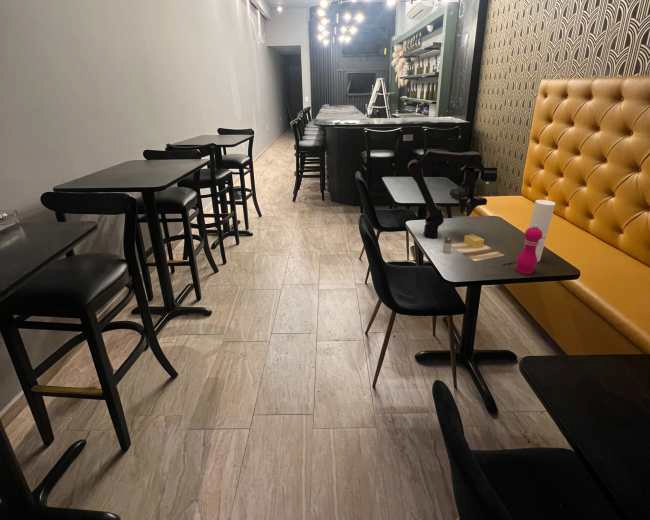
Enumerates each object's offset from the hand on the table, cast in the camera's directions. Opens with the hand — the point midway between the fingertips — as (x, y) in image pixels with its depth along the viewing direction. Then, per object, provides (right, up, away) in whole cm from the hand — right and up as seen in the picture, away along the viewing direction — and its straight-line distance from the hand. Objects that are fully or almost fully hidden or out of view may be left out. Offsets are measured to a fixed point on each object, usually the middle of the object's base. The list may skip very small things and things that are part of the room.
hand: (464, 214), depth 178 cm
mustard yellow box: (+3, -14, -2) cm, 14 cm away
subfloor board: (+2, -18, -7) cm, 19 cm away
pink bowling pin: (+16, -25, -22) cm, 37 cm away
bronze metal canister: (-11, -19, -8) cm, 23 cm away
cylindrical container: (+24, -20, -11) cm, 34 cm away
